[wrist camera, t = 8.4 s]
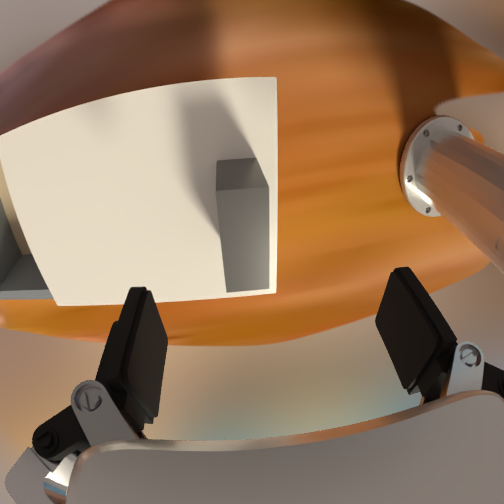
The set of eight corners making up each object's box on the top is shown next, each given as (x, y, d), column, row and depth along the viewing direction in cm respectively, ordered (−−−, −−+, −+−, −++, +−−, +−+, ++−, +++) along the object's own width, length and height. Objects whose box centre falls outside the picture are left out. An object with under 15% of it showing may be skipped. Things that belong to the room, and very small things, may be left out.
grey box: (132, 92, 21) (98, 99, 14) (158, 244, 30) (144, 295, 23) (-15, 143, 20) (-59, 169, 13) (23, 258, 29) (-6, 299, 22)
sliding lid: (274, 77, 15) (298, 76, 10) (274, 286, 24) (287, 341, 19) (1, 135, 14) (-48, 161, 9) (60, 300, 23) (39, 346, 18)
